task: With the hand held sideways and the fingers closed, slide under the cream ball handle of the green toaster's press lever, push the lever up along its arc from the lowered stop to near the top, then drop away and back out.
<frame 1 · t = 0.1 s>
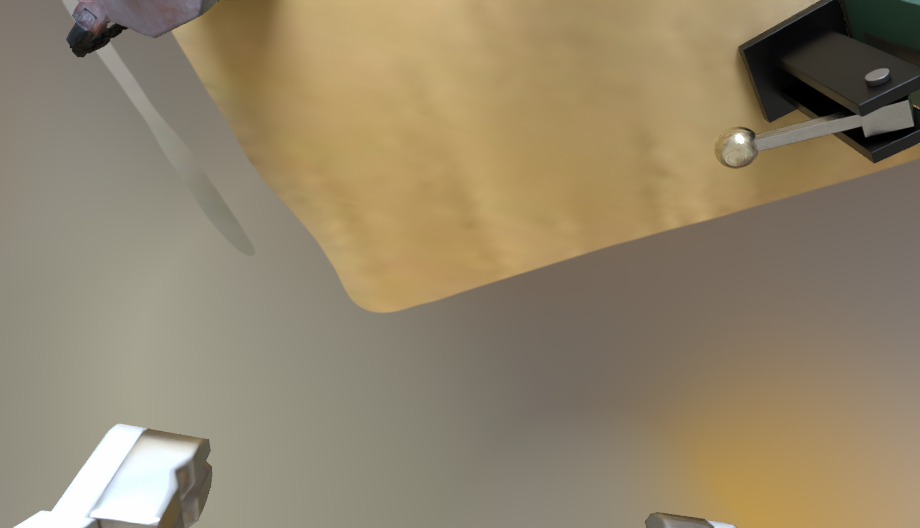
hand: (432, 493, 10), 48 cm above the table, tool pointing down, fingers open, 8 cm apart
lever bracket: (795, 60, 51), on the table
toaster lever: (803, 131, 43), point 12 cm above the table, hinge at -28.0°
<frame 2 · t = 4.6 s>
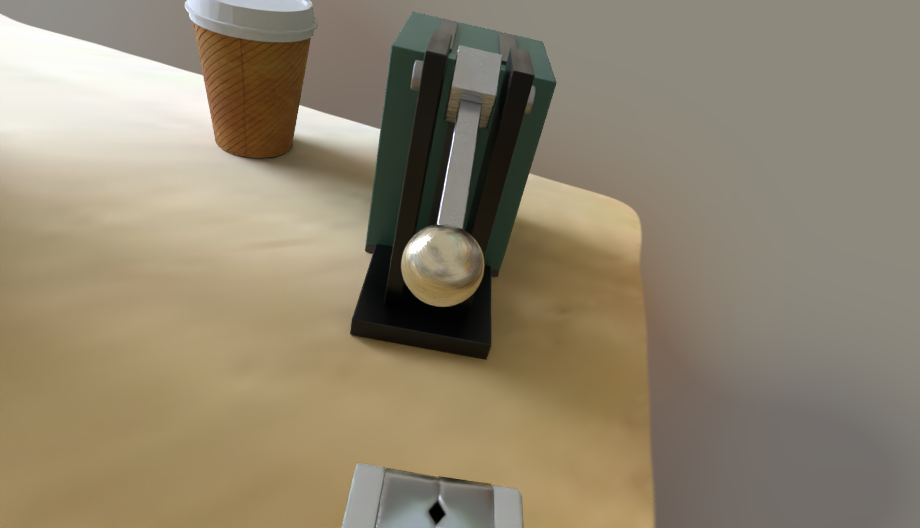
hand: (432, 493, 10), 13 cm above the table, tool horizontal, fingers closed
lever bracket: (425, 304, 35), on the table
disposable coffee cup: (254, 144, 49), on the table
toaster: (437, 228, 43), on the table
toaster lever: (458, 171, 25), point 12 cm above the table, hinge at -28.0°
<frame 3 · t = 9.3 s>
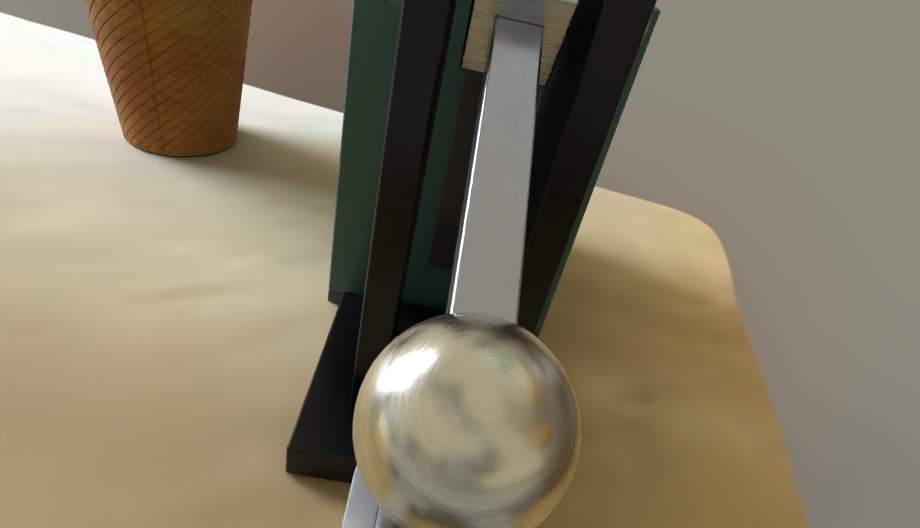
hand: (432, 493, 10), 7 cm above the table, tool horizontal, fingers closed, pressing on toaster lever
lever bracket: (424, 397, 21), on the table
disposable coffee cup: (182, 137, 34), on the table
toaster: (441, 259, 29), on the table
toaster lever: (498, 171, 11), point 12 cm above the table, hinge at -27.9°, touching gripper
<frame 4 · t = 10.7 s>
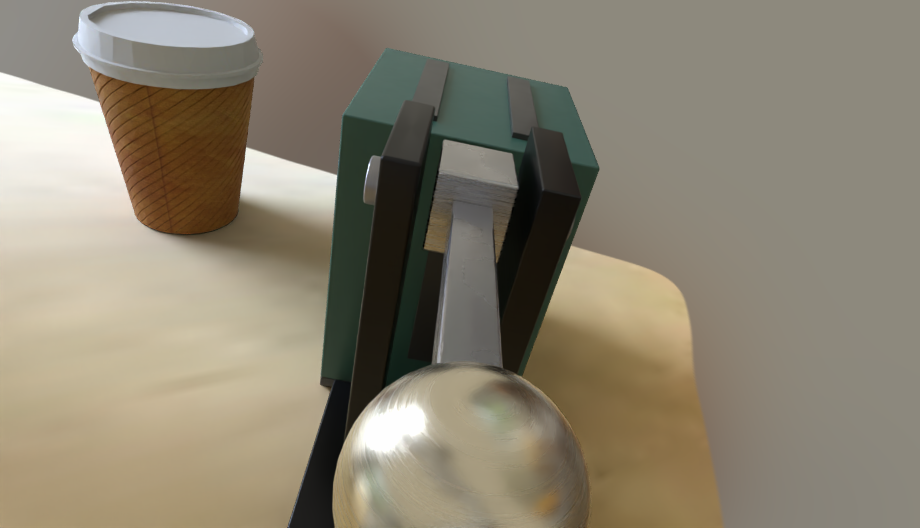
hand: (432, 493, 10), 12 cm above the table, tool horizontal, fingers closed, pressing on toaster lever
lever bracket: (402, 481, 24), on the table
disposable coffee cup: (188, 212, 37), on the table
toaster: (424, 335, 32), on the table
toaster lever: (467, 294, 12), point 14 cm above the table, hinge at 4.8°, touching gripper
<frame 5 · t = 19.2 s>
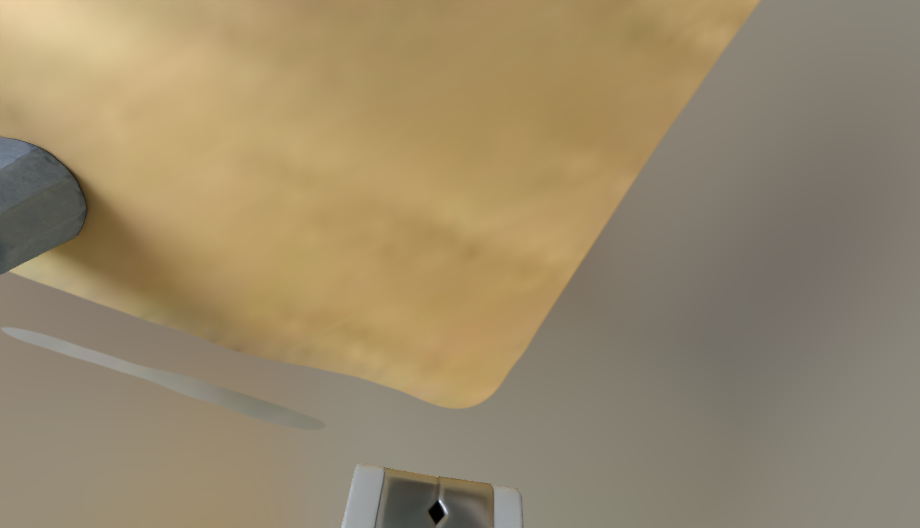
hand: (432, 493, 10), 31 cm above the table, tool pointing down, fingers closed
moka pot: (36, 193, 43), on the table
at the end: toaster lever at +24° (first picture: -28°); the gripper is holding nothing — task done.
